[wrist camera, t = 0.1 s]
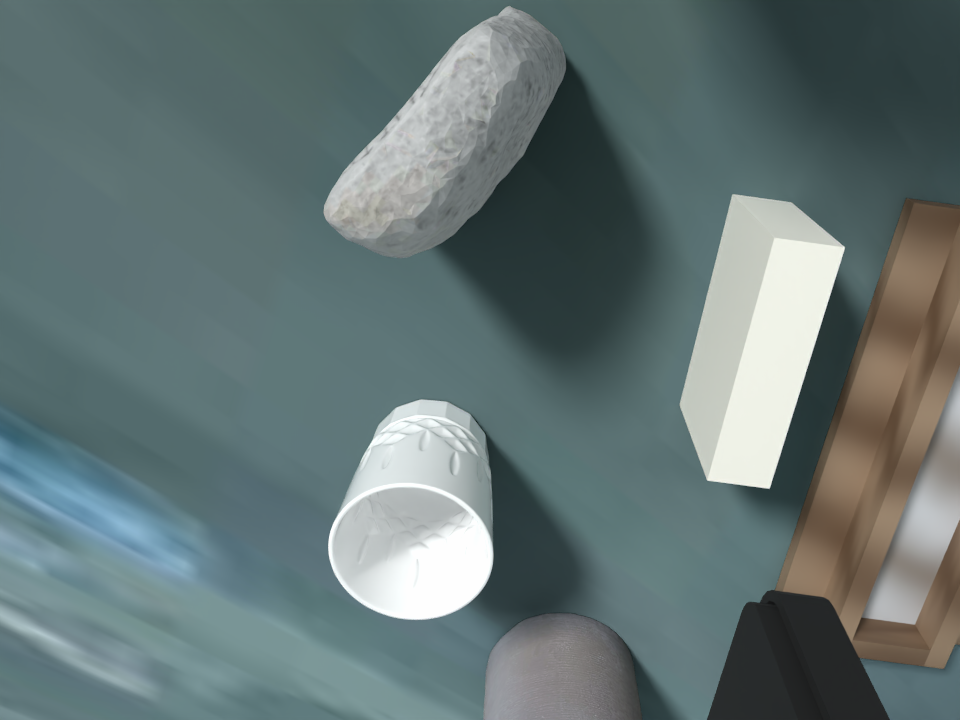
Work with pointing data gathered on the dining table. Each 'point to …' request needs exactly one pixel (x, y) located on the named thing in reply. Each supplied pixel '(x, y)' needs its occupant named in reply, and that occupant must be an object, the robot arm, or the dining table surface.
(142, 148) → the dining table surface
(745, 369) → the white rectangular block
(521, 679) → the pillar candle
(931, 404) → the track frame
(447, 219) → the decorative stone
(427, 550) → the white cup
